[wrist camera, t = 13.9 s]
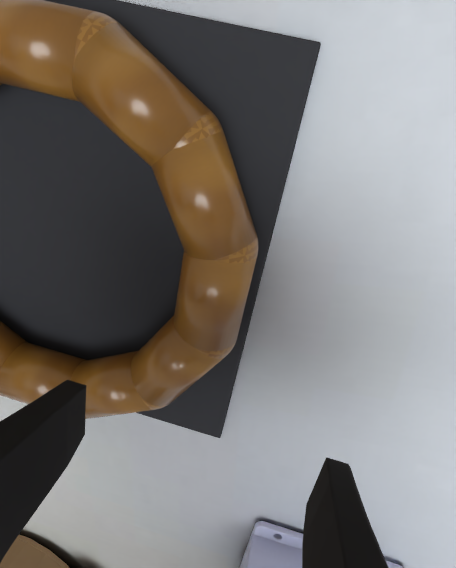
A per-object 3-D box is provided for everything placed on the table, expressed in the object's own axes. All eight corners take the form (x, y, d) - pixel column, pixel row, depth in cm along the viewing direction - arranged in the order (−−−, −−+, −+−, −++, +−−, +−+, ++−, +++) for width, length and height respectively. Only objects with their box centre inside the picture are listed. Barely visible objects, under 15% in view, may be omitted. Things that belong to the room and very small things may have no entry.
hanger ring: (-81, 338, 26) (-127, 368, 23) (-152, -40, 17) (-240, -62, 14) (216, 428, 24) (203, 472, 21) (307, 57, 15) (303, 53, 13)
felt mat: (-86, 339, 26) (-92, 343, 26) (-164, -57, 17) (-174, -60, 17) (221, 433, 25) (220, 438, 24) (320, 43, 15) (320, 42, 15)
